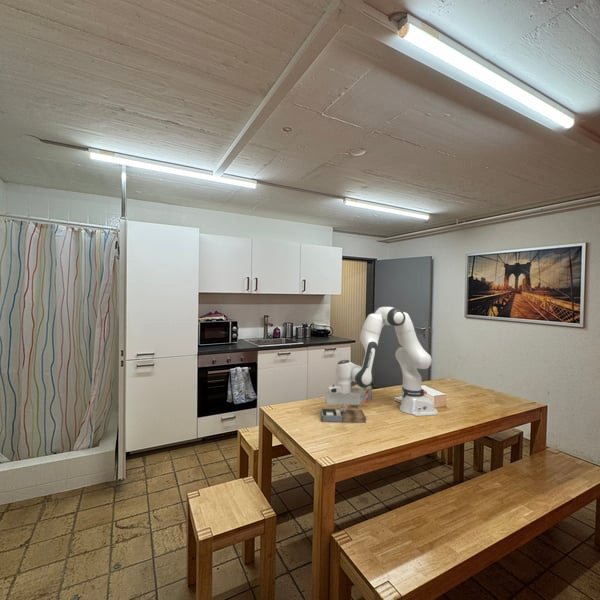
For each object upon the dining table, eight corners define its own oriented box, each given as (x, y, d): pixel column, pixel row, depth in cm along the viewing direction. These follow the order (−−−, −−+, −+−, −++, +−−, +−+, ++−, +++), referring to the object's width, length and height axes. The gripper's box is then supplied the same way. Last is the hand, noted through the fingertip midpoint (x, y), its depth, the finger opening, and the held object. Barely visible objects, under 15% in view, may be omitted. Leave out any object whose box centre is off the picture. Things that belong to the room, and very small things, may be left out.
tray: (339, 414, 188) (339, 408, 188) (342, 422, 177) (342, 416, 176) (321, 414, 188) (321, 408, 188) (322, 422, 177) (322, 415, 176)
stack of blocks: (363, 397, 219) (364, 380, 219) (372, 399, 216) (372, 381, 215) (349, 406, 202) (349, 387, 202) (358, 408, 198) (358, 389, 198)
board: (361, 414, 188) (361, 409, 188) (365, 423, 176) (365, 417, 176) (340, 414, 188) (340, 409, 188) (342, 422, 176) (343, 417, 176)
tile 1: (325, 411, 184) (325, 416, 184) (326, 414, 180) (326, 418, 180) (332, 411, 184) (332, 416, 184) (333, 414, 180) (333, 418, 180)
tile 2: (336, 416, 184) (340, 415, 184) (337, 418, 180) (341, 417, 180) (335, 409, 184) (339, 408, 184) (336, 412, 180) (340, 411, 180)
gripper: (359, 386, 185) (359, 409, 185) (325, 386, 185) (325, 409, 185) (362, 390, 178) (361, 414, 179) (326, 389, 178) (326, 413, 179)
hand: (342, 411), depth 182 cm, fingers closed
